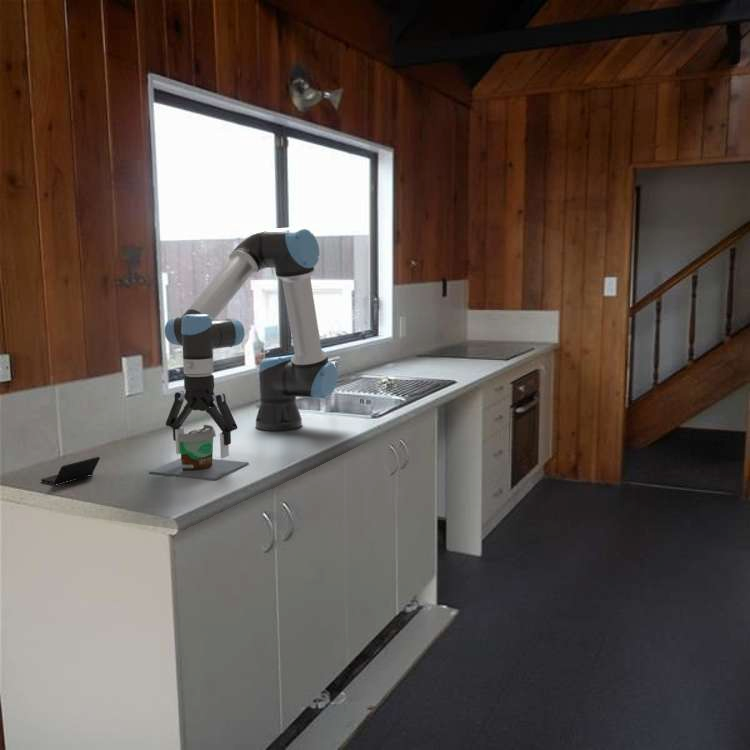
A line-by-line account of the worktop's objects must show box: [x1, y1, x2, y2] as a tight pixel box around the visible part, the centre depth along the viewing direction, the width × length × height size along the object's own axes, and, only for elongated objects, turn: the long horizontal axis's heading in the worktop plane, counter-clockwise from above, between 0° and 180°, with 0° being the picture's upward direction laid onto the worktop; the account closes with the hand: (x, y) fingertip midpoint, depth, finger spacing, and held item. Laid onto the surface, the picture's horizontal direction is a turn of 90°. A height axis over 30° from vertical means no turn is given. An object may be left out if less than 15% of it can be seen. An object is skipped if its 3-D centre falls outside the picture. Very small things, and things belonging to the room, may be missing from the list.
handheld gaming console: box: [40, 456, 101, 486], centre depth 186 cm, size 12×7×10 cm
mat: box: [148, 457, 250, 481], centre depth 195 cm, size 16×20×1 cm
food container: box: [178, 424, 217, 471], centre depth 194 cm, size 12×6×10 cm, turn 159°
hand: (202, 455), depth 194 cm, fingers open, 13 cm apart
